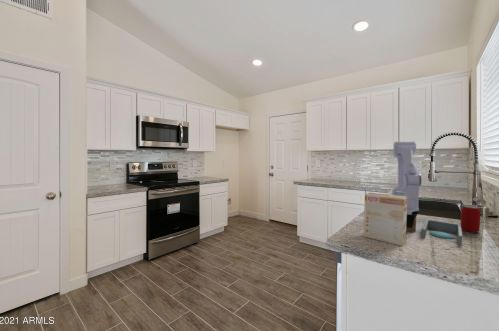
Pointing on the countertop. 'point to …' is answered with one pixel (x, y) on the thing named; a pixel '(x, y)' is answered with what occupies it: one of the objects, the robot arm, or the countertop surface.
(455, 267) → the countertop surface
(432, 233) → the pad
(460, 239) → the grey angular frame piece
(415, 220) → the walnut cylinder
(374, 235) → the coffeecake box
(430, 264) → the countertop surface
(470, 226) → the beverage can
